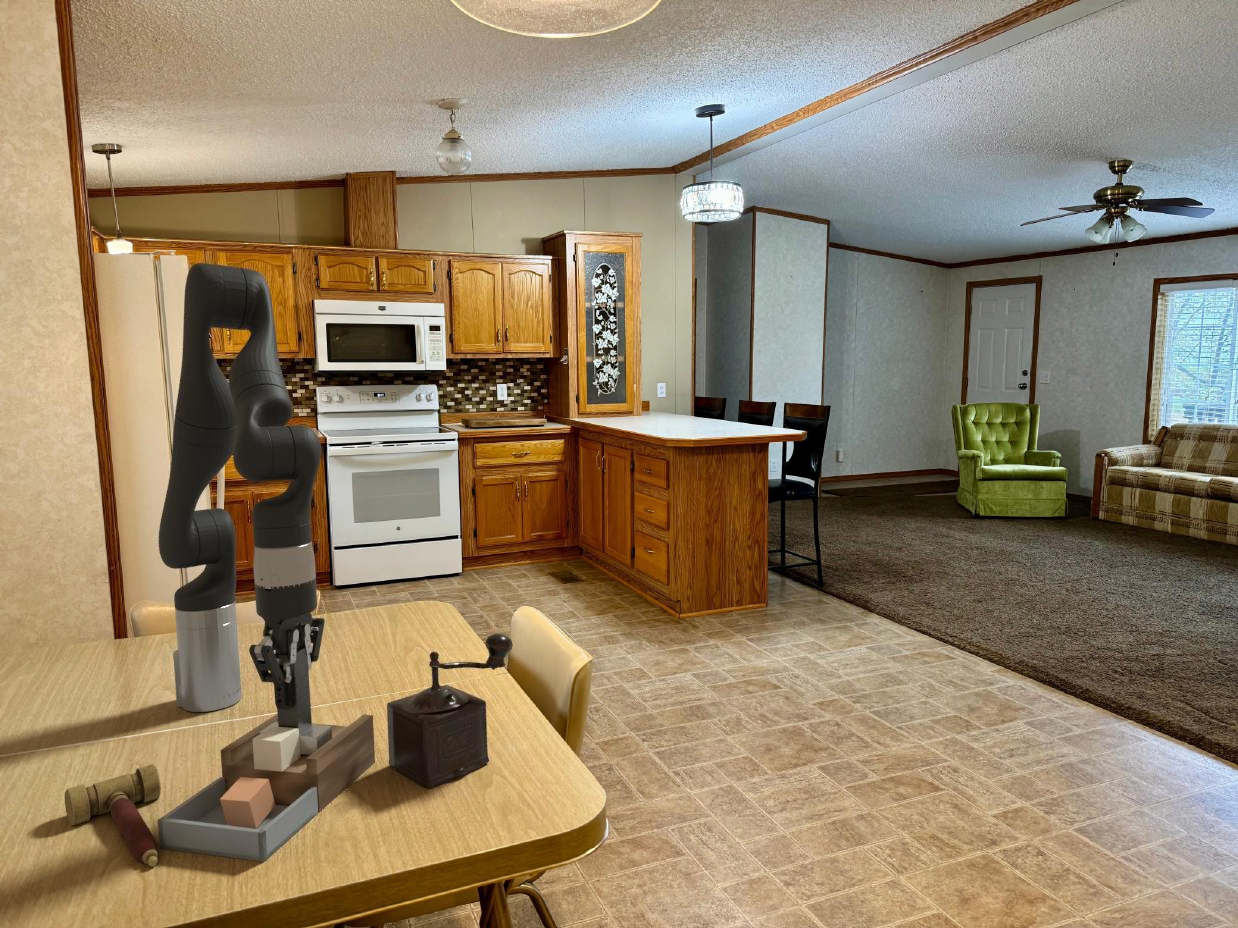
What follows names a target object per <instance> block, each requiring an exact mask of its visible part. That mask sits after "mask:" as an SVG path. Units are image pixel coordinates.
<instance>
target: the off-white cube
mask: <svg viewBox="0 0 1238 928" xmlns="http://www.w3.org/2000/svg"><path fill="white" fill-rule="evenodd" d="M253 755H254V769H260V770H271V771H281V772H282V771H283V770H285V769H286V768H287V767H289V766H290V765H291V764H293V763H294V762H295V761H297V760H298V759H299V758H300V742H299V729H298V728H286V727H275V726H271V727H270V728H268V729H267V730H265V731H264V732H262V733H261V734H259V735H258V736H256V737H255V738H253Z"/></svg>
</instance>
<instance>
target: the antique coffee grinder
mask: <svg viewBox="0 0 1238 928" xmlns="http://www.w3.org/2000/svg"><path fill="white" fill-rule="evenodd" d="M513 645H514V644H513V641H512V639H511V638H510V637H508V635H505V634H504V633H503V634H502V633H494V634H491V635H489V636H487V638H486V639H485V647H486V649H487V650H488V651H487V652H488V657H487V660H486V661H485V662H474V661H455V662H447V663H446V662H445V663H443V662H440V660H439V658H440V657H439V656H440V655H439V652H437V651H431V652H430V654H429V660H430V661H429V664H428V666H429V667H430V668H431V679H432V681H431V683H432V685H431V686H430V687H428V688H426V689H425V688H424V689H423V690H421V691H419V692H418V693H415V694H411V695H408V696H405V697H402V698H399V699H396V700H393V701H389V702H387V704H386V717H387V719H386V720H387V721H386V722H387V743H388V764H389V767H390V768H392V769H393V770H394V771H395V772H398V773H399V774H401V775H402V776H403V777H406V778H407V779H409V780H410V781H412V782H414V783H415V784H417V785H419V786H420V787H422V788H425V789H428V790H429V789H432V788H435V787H437V786H440V785H442V784H446V783H448V782H450V781H453V780H456V779H458V778H459V779H460V778H461V777H463V776H465V775H467V774H469V773H471V772H473V771H475V770H477V769H479V768H481V767H483V766H484V765H486V764H488V763H489V762H490V758H489V754H488V753H489V751H488V726H487V702H486V700H484V699H482V698H481V697H477V696H475V695H472V694H471V693H468V692H466V691H463V690H461V689H459V688H456V687H453V686H450V685H448V684H444V685H440V680H439V679H440V678H439V669H443V670H453V669H468V668H469V669H471V668H472V669H481V670H486V669H492V670H493V671H495V670H496V669H498V668H504V667H506V663H505V658H506V656H507V655H508V654H509V653H510V652H511V651H512V650H513V647H514V646H513Z"/></svg>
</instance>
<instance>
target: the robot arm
mask: <svg viewBox="0 0 1238 928" xmlns="http://www.w3.org/2000/svg"><path fill="white" fill-rule="evenodd" d="M185 280H186V281H185V287H184V298H183V299H184V302H183V331H182V332H183V333H182V355H181V356H182V358H181V368H180V377H179V385H178V392H177V397H176V405H175V413H174V419H173V420H174V422H173V423H174V424H173V432H172V433H173V434H172V445H171V446H172V449H171V458H170V459H171V460H170V470H169V477H168V478H169V479H168V484H167V489H166V493H165V498H164V504H163V508H162V512H161V516H160V517H161V518H160V521H159V522H160V523H159V530H158V551H159V556H160V558H161V560H162V562H163V563H164V566H166V567H168V568H170V569H174V570H175V569H176V570H177V569H189V568H194V567H200V566H205V567H204V569H203V570H202V571H201V573H199V575H197V576H196V577H195V578H194V579H193V580H191V581H189V582H187V583H185V584H184V585H182V586H180V587H179V588H178V589H177V590H175V593H174V596H173V597H174V599H173V600H174V601H173V602H174V603H173V604H174V613H175V626H176V628H175V629H176V637H177V638H176V639H177V640H176V641H177V650H175V651H173V653H172V657H173V670H174V673H173V674H174V686H175V697H176V698H175V699H176V707H181V708H182V709H183V710H184V711H186V712H193V713H204V712H205V713H206V712H214V711H218V710H222V709H225V708H228V707H231V706H233V705H235V704H237V703H239V701H241V700H242V698H243V695H242V680H241V665H240V664H241V663H240V662H241V661H240V650H239V649H240V647H239V646H240V645H239V634H238V632H239V631H238V618H237V617H238V616H237V605H236V589H237V560H236V558H237V556H236V555H237V543H236V542H237V540H236V539H237V538H236V529H235V524H234V521H233V519H232V517H231V515H230V513H229V512H228V511H227V510H225V509H223V508H221V507H219V508H218V507H216V508H207V509H200V510H196V508H197V504H198V502H199V499H200V498H201V496H202V493H204V491H205V489H206V488H207V486H208V485H209V484H210V483H211V482H212V480H213V479H214V478H216V476H217V475H218V474H219V473H220V472H221V470H222V469H223V468H224V466H226V464H227V463H228V462H229V460H230V458H231V457H233V458H232V459H233V460H232V461H233V465H234V468H235V470H236V471H237V473H238V474H239V476H241V477H242V478H244V479H245V480H246V481H249V482H251V483H252V482H255V483H259V482H273V481H283V480H285V481H286V480H290V482H289V485H288V486H287V488H286V489H285V490H284V492H282V493H280V494H278V495H275V496H272V497H268V498H265V499H262V500H260V501H257V502H256V503H255V504H254V506H253V508H252V514H251V515H252V532H253V546H254V550H253V551H254V552H253V579H254V595H255V608H256V609H255V610H256V614H257V616H259V617H260V618H262V619H263V621H264V627H263V630H262V636H263V638H262V639H261V640H260V642H258V644H251V645H250V646H249V648H248V649H249V650H248V652H249V654H250V657H251V660H252V662H253V664H254V667H255V669H256V672H257V673H258V674H257V675H259V678H260V681H261V682H262V683H272V684H273V690H274V704H275V707H276V709H277V708H278V709H283V710H289V709H291V708H292V707H293V706H294V701H293V684H292V681H291V679H292V664H294V663H295V662H296V650H298V649H300V648H302V647H303V648H305V650H306V655H308V671H309V672H310V670H311V669H312V664H313V663H315V662H318V660H319V657H320V651H321V646H322V640H323V633H324V629H325V622H326V621H325V619H324V618H323V617H313V615H312V613H313V612H314V611H316V609H317V607H318V595H317V572H316V560H315V559H316V558H315V552H314V547H313V542H312V541H313V539H312V538H313V537H312V523H311V506H312V497H313V493H314V487H315V484H316V483H315V482H316V478H317V476H318V475H317V474H318V471H319V468H320V462H321V457H322V445H321V441H320V438H319V436H318V434H317V432H315V431H314V430H313V429H312V428H311V427H310V426H308V425H303V424H295V425H293V424H292V425H287V424H288V423H290V420H291V419H292V417H293V412H294V410H293V403H292V400H291V397H290V394H289V390H288V388H287V387H288V386H287V385H286V381H285V378H284V375H283V371H282V368H281V364H280V358H279V351H278V350H279V349H278V338H277V332H276V331H277V330H276V324H275V318H274V317H275V316H274V309H273V302H272V296H271V292H270V288H269V287H270V286H269V284H268V282H267V279H266V278H265V276H264V275H263V274H262V273H261V271H260V272H259V271H258V270H256V269H255V270H254V269H251V268H245V267H238V266H232V265H231V266H230V265H223V264H215V263H205V262H196V263H193V265H192V266H191V267H190V269H189V270H188V273H187V275H186V279H185ZM212 328H213V329H226V330H227V329H228V330H236V331H237V330H238V331H239V330H240V331H246V330H247V331H249V333H250V336H249V338H248V339H247V341H246V343H245V344H244V346H243V347H242V348H241V349H240V351H239V352H238V353H237V355H236V356H235V358H234V359H233V362H232V363H231V366H230V368H229V373H228V380H227V377H226V376H225V375H224V373H223V371H222V370H221V368H220V366H219V364H218V362H217V360H216V358H215V355H214V354H213V351H212V348H211V347H212V346H211V342H210V331H211V329H212ZM275 654H276V655H286V656H287V658H280V657H277V656H276V655H275ZM279 665H283V666H284V673H282V671H281V669H280V667H279Z"/></svg>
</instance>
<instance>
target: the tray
mask: <svg viewBox="0 0 1238 928" xmlns="http://www.w3.org/2000/svg"><path fill="white" fill-rule="evenodd" d="M225 793H226V790H225V777H222V776H219V777H218V778H217V779H215V780H214V781H212V782H211V783H210V784H208V785H207V786H205V787H203V788H202V789H201V790H200V791H198V792H196V793H195V794H193V795H192V796H191V797H189V798H188V799H186V800H185V801H184V802H182V803H180V804H179V805H178V806H176V807H175V808H173V809H172V810H170V811H169V812H167V813H166V814H165V815H163V816H162V817H160V818H159V819H157V828H158V842H159V843H158V845H159V849H162V850H173V851H178V852H186V853H193V854H201V855H210V856H217V857H225V858H232V859H240V860H248V861H254V862H260V863H261V862H263V863H265V862H266V861H267V860H268V859H269V858H271V857H272V856H273V855H274V854H275V853H276V852H277V851H278V850H279V849H280V848H282V847H283V846H284V845H285V844H286V843H287V842H288V841H290V839H292V838H293V837H294V836H295V835H296V834H297V833H298V832H299V831H300V830H302V829H303V828H304V827H305V826H306V825H307V824H308V823H310V821H311V820H312V819H314V818H315V817H316V816H317V815H318V814H319V812H318V800H317V787H311V788H310V789H309V790H308V791H307V792H305V793H304V794H303V795H302V796H301V797H299V798H298V799H297V800H296V801H295V802H293V803H292V804H291V805H290V806H282V805H275V807H274V808H273V809H272V810H271V811H270V813H269V814H268V815H267V816H266V818H265V819H264V820H263V821H262V822H261V824H260V825H259V826H258V827H257V828H245V827H236V826H228V825H227V822H226V819H225V815H224V812H223V808H222V805H221V801H220V799H221V798H222V796H223V795H224V794H225Z"/></svg>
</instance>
